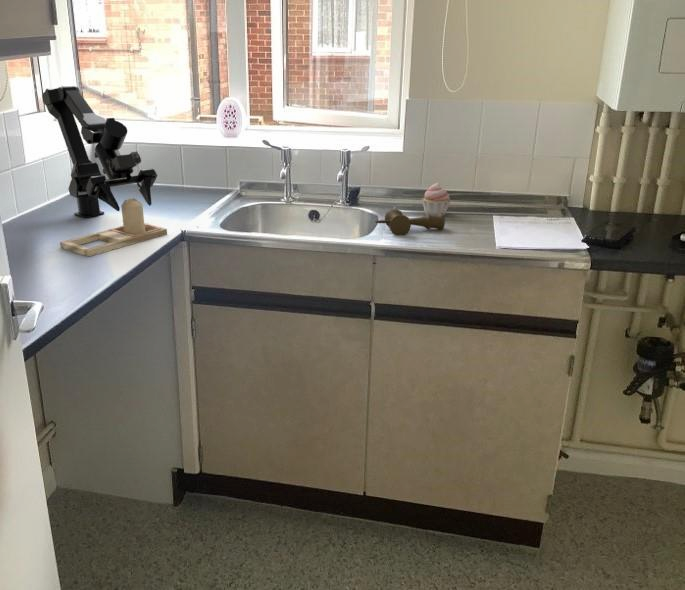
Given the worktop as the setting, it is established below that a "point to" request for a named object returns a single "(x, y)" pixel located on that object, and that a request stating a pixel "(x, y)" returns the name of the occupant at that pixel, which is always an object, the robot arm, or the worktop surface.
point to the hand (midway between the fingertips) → (134, 207)
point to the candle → (133, 217)
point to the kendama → (411, 222)
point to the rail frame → (111, 239)
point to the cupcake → (436, 200)
